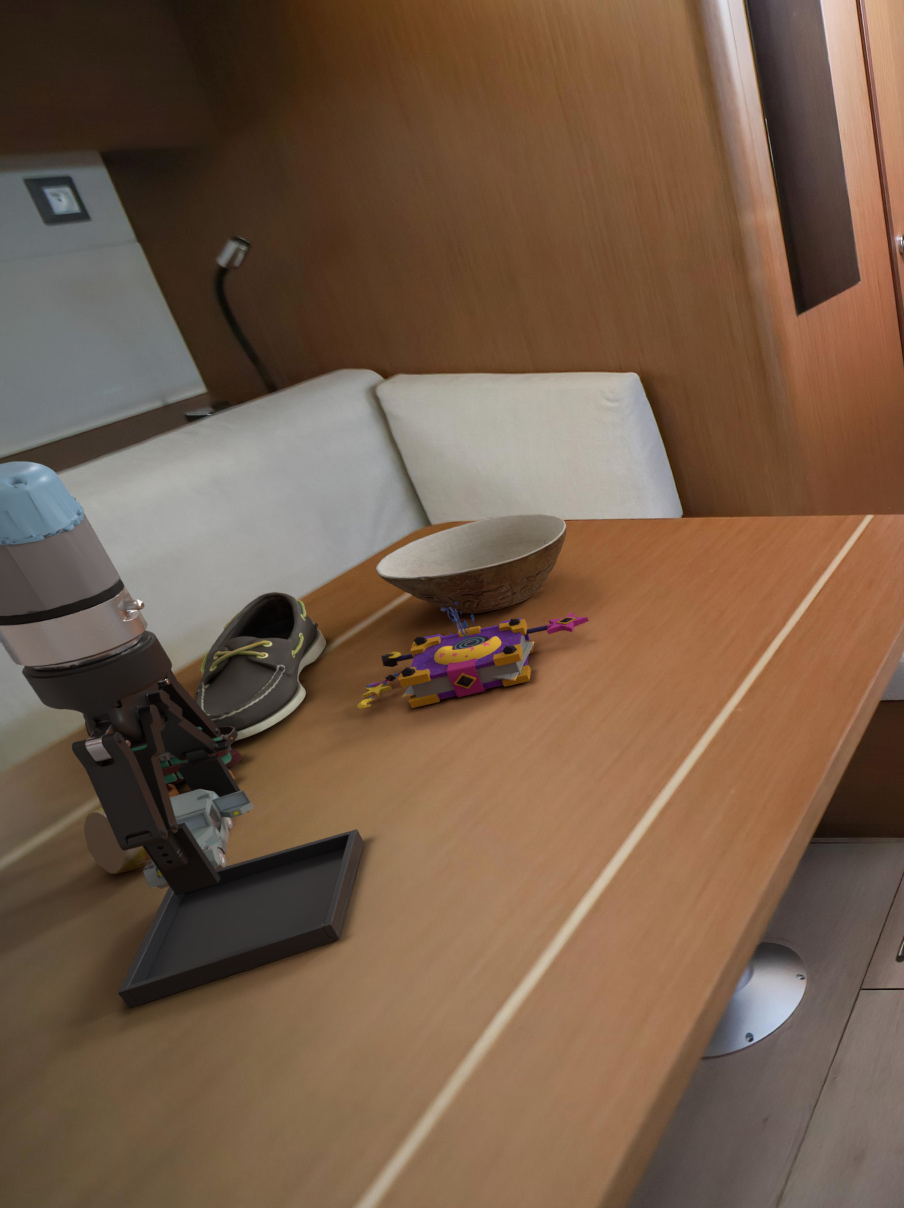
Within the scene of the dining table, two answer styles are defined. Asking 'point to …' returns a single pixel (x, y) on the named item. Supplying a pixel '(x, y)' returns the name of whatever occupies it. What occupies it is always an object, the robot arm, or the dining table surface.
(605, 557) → the dining table surface
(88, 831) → the mug
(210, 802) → the toy car
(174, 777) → the binoculars
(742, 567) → the dining table surface
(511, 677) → the purple toy
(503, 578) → the bowl
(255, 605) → the boat shoe
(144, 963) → the tray
